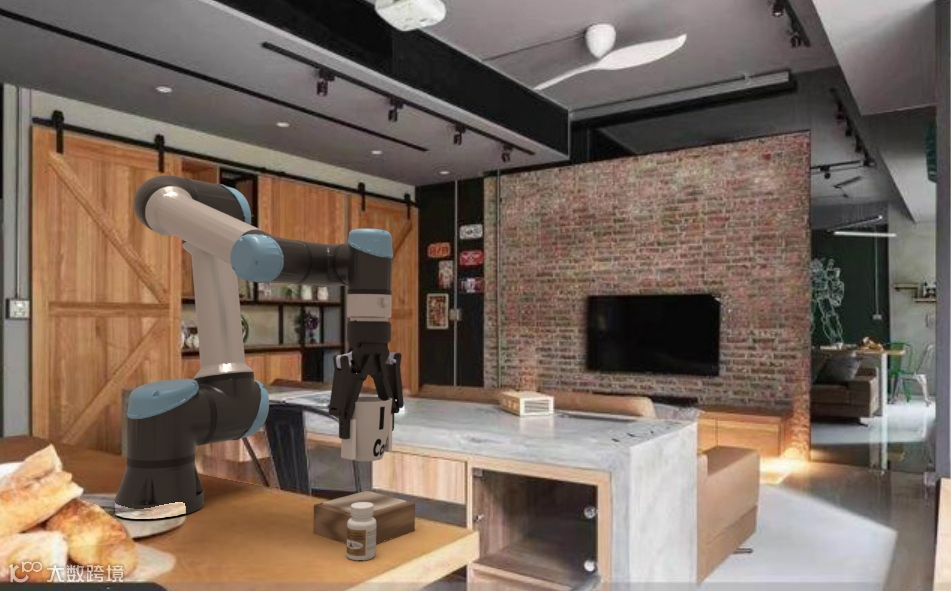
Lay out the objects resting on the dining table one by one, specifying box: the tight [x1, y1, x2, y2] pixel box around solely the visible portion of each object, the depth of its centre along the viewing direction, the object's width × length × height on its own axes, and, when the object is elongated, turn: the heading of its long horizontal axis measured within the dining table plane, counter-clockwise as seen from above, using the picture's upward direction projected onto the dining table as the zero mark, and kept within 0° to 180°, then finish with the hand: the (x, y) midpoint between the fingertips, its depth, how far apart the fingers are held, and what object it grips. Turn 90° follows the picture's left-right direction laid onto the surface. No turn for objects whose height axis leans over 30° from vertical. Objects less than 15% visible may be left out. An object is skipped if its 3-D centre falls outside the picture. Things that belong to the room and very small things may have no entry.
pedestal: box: [312, 490, 416, 544], centre depth 112 cm, size 12×12×5 cm
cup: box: [346, 395, 392, 462], centre depth 112 cm, size 8×8×10 cm
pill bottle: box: [346, 502, 377, 561], centre depth 100 cm, size 4×4×8 cm
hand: (367, 454), depth 112 cm, fingers closed on cup, 8 cm apart
